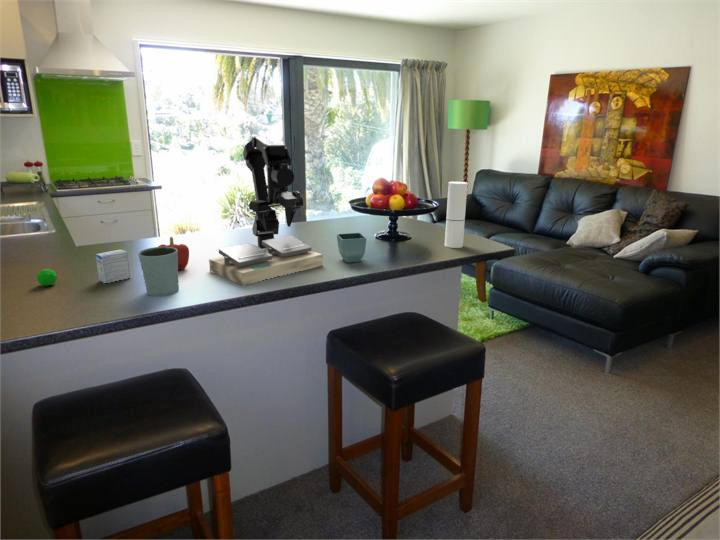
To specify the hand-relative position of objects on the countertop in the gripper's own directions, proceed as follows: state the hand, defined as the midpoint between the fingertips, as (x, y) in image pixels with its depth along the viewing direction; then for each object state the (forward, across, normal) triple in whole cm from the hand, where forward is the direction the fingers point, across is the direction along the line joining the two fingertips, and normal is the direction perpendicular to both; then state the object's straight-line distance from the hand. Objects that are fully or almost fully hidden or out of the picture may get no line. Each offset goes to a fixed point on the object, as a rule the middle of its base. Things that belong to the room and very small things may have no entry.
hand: (277, 228), depth 167 cm
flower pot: (+12, +19, -17) cm, 28 cm away
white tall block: (+12, +64, -28) cm, 71 cm away
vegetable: (+12, -31, +15) cm, 37 cm away
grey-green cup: (+12, -43, -4) cm, 45 cm away
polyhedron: (+12, -65, +24) cm, 70 cm away
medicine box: (+12, -49, +16) cm, 53 cm away
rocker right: (+5, 0, -5) cm, 7 cm away
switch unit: (+12, -8, -5) cm, 15 cm away
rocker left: (+5, -16, -5) cm, 17 cm away
